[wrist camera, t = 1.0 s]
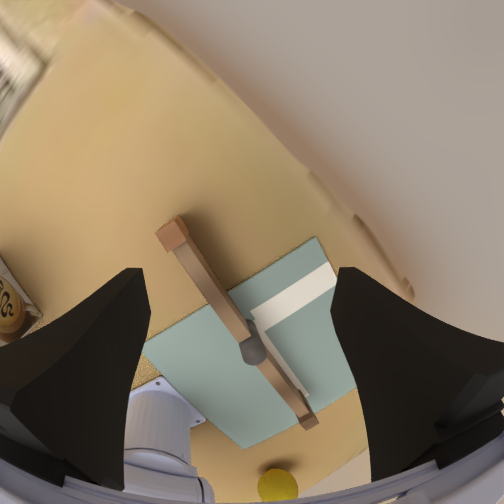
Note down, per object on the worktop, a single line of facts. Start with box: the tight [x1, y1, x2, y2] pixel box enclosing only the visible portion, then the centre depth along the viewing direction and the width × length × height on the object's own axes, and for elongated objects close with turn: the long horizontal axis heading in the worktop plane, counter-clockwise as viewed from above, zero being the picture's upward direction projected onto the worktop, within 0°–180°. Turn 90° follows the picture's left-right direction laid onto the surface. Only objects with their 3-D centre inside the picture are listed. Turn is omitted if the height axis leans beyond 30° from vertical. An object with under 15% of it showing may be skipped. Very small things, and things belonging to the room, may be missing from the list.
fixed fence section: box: [239, 319, 319, 430], centre depth 26 cm, size 13×2×5 cm, turn 30°
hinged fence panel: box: [155, 215, 251, 343], centre depth 22 cm, size 11×2×4 cm, turn 30°
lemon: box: [258, 468, 298, 502], centre depth 29 cm, size 6×6×8 cm
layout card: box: [142, 237, 357, 449], centre depth 28 cm, size 20×20×1 cm
